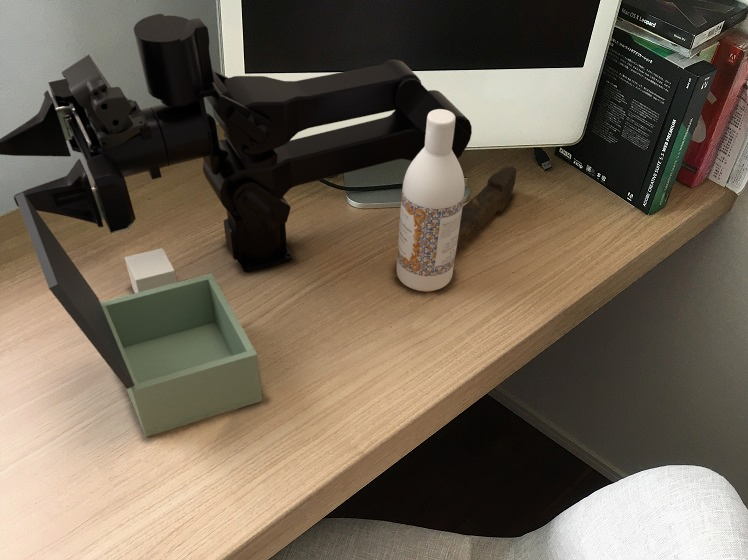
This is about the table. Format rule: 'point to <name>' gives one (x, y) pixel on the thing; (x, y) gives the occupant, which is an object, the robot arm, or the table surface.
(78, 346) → the table surface
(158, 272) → the white block
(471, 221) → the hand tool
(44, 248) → the box lid
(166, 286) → the open box
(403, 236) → the bath foam
